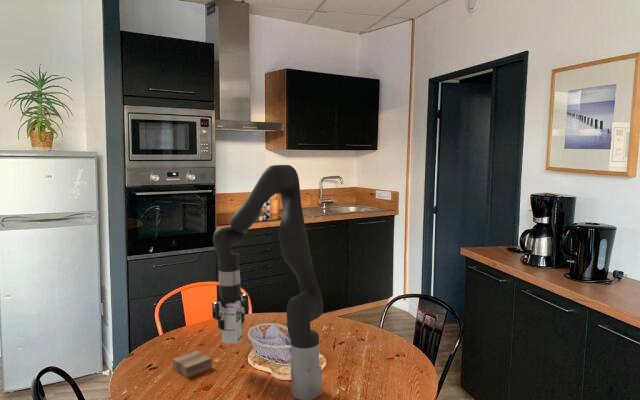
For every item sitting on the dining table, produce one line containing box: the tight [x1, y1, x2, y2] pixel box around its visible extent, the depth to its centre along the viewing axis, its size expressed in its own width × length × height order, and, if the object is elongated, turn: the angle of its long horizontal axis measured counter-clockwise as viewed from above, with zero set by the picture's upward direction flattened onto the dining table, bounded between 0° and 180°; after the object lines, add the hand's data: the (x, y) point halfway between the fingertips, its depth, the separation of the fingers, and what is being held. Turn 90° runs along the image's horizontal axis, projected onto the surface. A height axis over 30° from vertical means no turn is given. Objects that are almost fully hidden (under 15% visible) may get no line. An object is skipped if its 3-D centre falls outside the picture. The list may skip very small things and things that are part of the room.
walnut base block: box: [172, 350, 213, 378], centre depth 173 cm, size 10×10×4 cm
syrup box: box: [219, 300, 244, 345], centre depth 170 cm, size 6×6×14 cm
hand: (231, 326), depth 171 cm, fingers closed on syrup box, 8 cm apart
